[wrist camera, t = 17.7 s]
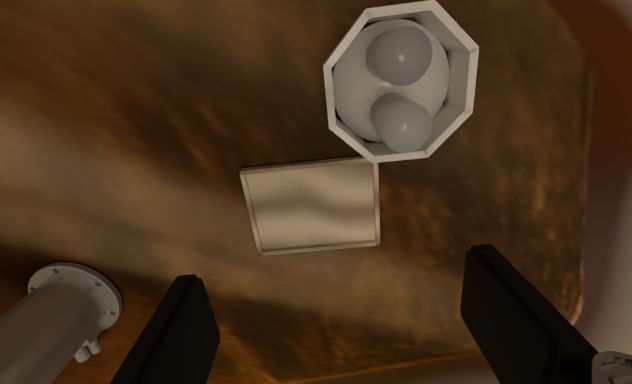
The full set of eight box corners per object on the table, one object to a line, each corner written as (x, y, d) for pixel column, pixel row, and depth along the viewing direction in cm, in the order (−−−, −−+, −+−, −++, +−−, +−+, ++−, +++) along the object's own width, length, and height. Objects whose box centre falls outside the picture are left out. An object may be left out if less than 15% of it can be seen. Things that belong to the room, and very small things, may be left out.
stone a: (404, 85, 31) (425, 94, 25) (416, 124, 33) (437, 141, 27) (364, 103, 32) (375, 115, 26) (377, 140, 34) (390, 160, 28)
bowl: (448, 140, 34) (468, 153, 30) (331, 152, 35) (332, 167, 30) (458, 2, 29) (484, -7, 24) (318, 21, 29) (318, 14, 25)
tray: (378, 241, 40) (380, 245, 39) (260, 251, 41) (258, 255, 40) (376, 154, 35) (377, 157, 34) (241, 168, 36) (239, 171, 35)
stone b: (410, 28, 29) (433, 22, 23) (410, 77, 31) (431, 82, 25) (364, 34, 29) (375, 29, 23) (366, 82, 31) (377, 89, 25)
